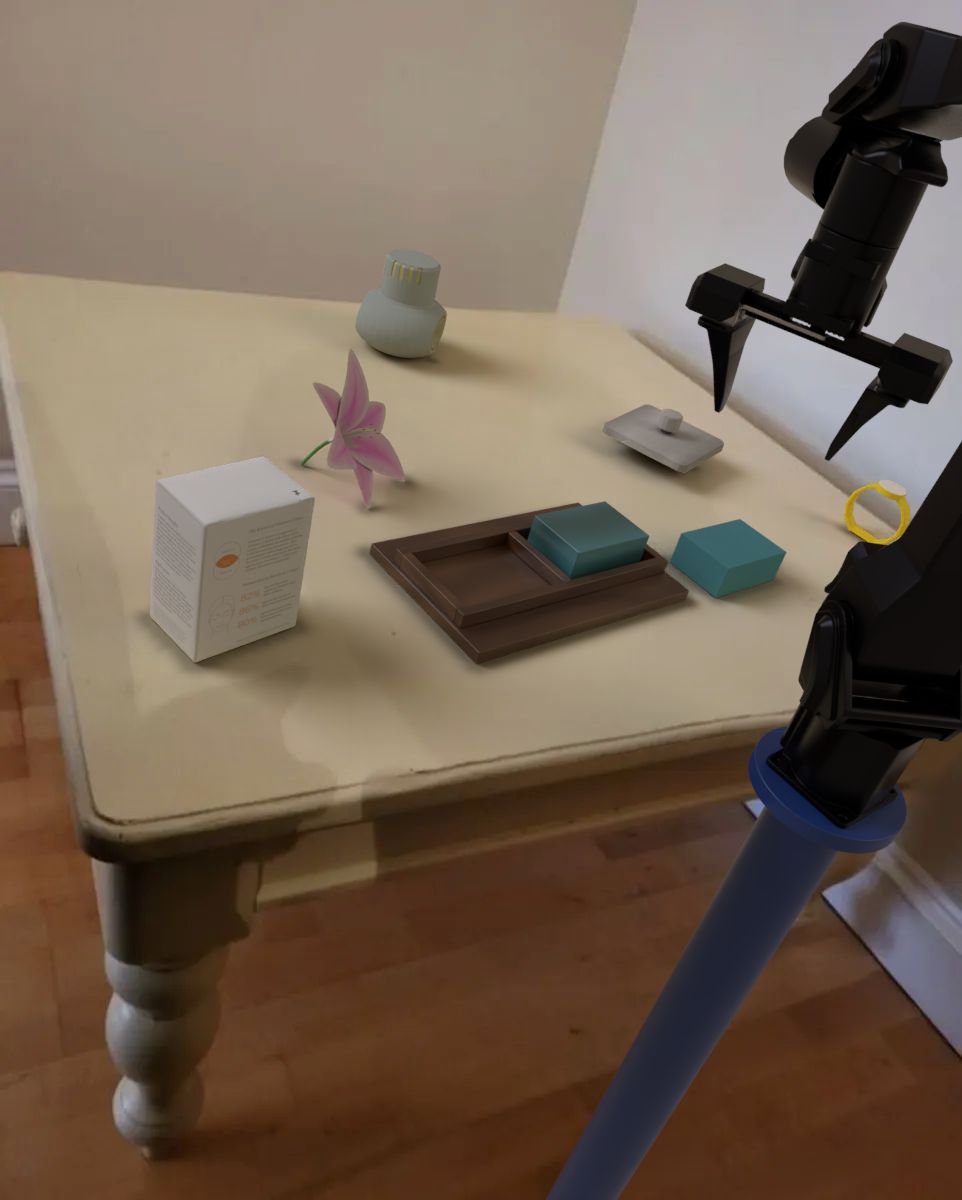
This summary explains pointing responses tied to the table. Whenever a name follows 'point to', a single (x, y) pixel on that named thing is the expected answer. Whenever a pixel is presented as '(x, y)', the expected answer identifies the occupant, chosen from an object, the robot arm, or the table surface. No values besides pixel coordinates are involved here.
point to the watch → (887, 490)
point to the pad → (727, 557)
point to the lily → (358, 431)
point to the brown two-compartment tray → (530, 576)
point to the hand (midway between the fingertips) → (772, 434)
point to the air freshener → (404, 307)
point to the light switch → (664, 437)
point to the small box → (228, 555)
